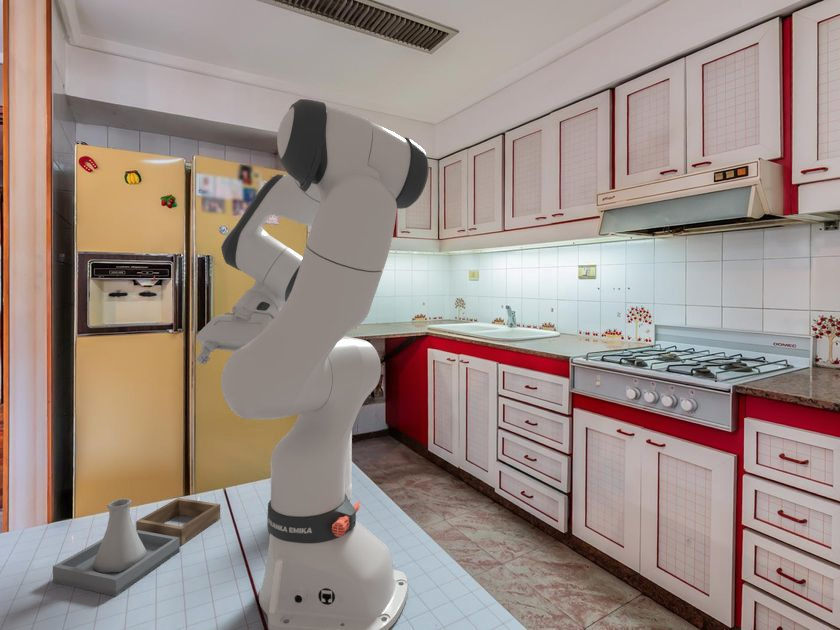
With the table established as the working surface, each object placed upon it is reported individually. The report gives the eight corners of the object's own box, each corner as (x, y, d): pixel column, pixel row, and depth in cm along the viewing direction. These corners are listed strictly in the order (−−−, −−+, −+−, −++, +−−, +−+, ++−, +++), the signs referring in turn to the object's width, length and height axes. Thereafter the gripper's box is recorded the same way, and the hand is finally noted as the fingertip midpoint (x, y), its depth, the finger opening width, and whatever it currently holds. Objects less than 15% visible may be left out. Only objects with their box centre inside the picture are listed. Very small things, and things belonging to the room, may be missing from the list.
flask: (120, 577, 71) (119, 515, 70) (81, 571, 72) (80, 510, 72) (155, 552, 78) (155, 495, 77) (120, 547, 79) (119, 491, 79)
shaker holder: (220, 518, 91) (220, 504, 91) (181, 545, 81) (181, 529, 81) (178, 512, 94) (178, 497, 94) (136, 537, 84) (136, 521, 84)
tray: (179, 551, 79) (179, 537, 79) (116, 596, 67) (115, 580, 67) (123, 540, 83) (123, 527, 82) (53, 582, 71) (52, 566, 70)
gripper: (214, 303, 102) (172, 350, 94) (279, 305, 92) (238, 358, 83) (231, 322, 106) (192, 369, 98) (295, 326, 96) (258, 379, 88)
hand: (214, 364), depth 90 cm, fingers open, 8 cm apart
